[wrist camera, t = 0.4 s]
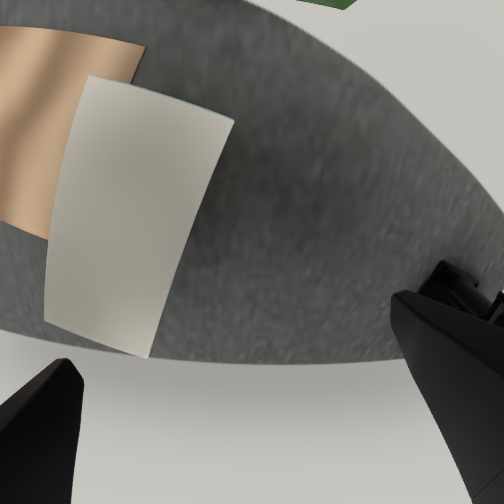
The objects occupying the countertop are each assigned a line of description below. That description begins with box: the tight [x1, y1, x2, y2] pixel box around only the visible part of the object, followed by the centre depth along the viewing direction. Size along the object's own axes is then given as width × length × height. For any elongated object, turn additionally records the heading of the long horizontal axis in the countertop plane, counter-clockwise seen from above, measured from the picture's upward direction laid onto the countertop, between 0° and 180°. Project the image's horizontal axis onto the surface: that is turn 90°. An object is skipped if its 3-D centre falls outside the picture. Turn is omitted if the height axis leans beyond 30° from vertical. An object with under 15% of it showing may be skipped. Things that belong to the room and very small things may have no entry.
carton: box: [44, 76, 235, 359], centre depth 13 cm, size 5×9×10 cm, turn 157°
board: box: [0, 26, 146, 240], centre depth 15 cm, size 14×14×1 cm
